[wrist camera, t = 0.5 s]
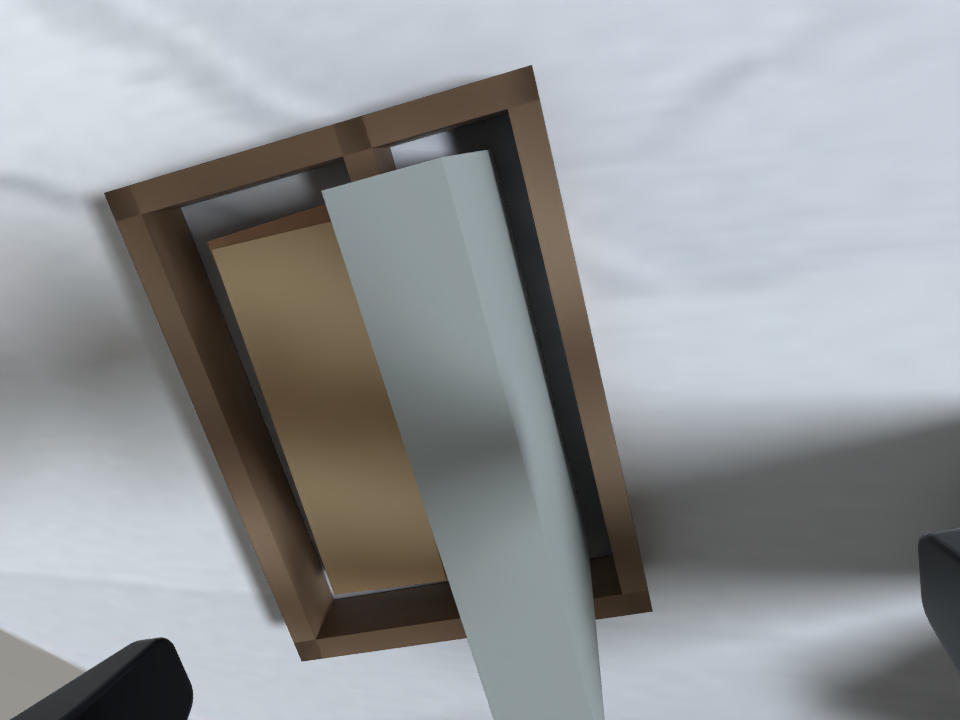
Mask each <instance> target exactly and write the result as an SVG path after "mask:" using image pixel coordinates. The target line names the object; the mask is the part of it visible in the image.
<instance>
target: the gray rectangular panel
mask: <svg viewBox="0 0 960 720" xmlns="http://www.w3.org/2000/svg"><path fill="white" fill-rule="evenodd" d="M322 195H323V198H324V201H325V204H326V207H327V210H328V213H329V216H330V219H331V222H332V225H333V228H334V231H335V234H336V237H337V241H338V244H339V247H340V250H341V253H342V256H343V259H344V262H345V265H346V268H347V271H348V274H349V277H350V280H351V283H352V287H353V290H354V293H355V296H356V299H357V302H358V305H359V308H360V311H361V314H362V317H363V320H364V323H365V326H366V329H367V333H368V336H369V339H370V342H371V345H372V348H373V351H374V354H375V357H376V360H377V363H378V366H379V369H380V372H381V375H382V378H383V382H384V385H385V388H386V391H387V394H388V397H389V400H390V403H391V406H392V409H393V412H394V415H395V418H396V421H397V424H398V428H399V431H400V434H401V437H402V440H403V443H404V446H405V449H406V452H407V455H408V458H409V461H410V464H411V467H412V470H413V474H414V477H415V480H416V483H417V486H418V489H419V492H420V495H421V498H422V501H423V504H424V507H425V510H426V513H427V516H428V520H429V523H430V526H431V529H432V532H433V535H434V538H435V541H436V544H437V547H438V550H439V553H440V556H441V559H442V562H443V565H444V569H445V572H446V575H447V578H448V581H449V584H450V587H451V590H452V593H453V596H454V599H455V602H456V605H457V608H458V611H459V615H460V618H461V621H462V624H463V627H464V630H465V633H466V636H467V639H468V642H469V645H470V648H471V651H472V654H473V657H474V661H475V664H476V667H477V670H478V673H479V676H480V679H481V682H482V685H483V688H484V691H485V694H486V697H487V700H488V703H489V707H490V710H491V713H492V716H493V719H494V720H605V719H604V708H603V697H602V686H601V676H600V665H599V654H598V643H597V633H596V622H595V611H594V600H593V590H592V579H591V568H590V558H589V547H588V538H587V534H586V530H585V525H584V521H583V517H582V513H581V509H580V505H579V501H578V497H577V493H576V489H575V485H574V481H573V477H572V473H571V469H570V465H569V461H568V457H567V453H566V448H565V444H564V440H563V436H562V432H561V428H560V424H559V420H558V416H557V412H556V408H555V404H554V400H553V396H552V392H551V388H550V384H549V380H548V376H547V371H546V367H545V363H544V359H543V355H542V351H541V347H540V343H539V339H538V335H537V331H536V327H535V323H534V319H533V315H532V311H531V307H530V303H529V299H528V295H527V290H526V286H525V282H524V278H523V274H522V270H521V266H520V262H519V258H518V254H517V250H516V246H515V242H514V238H513V234H512V230H511V226H510V222H509V218H508V213H507V209H506V205H505V201H504V197H503V193H502V189H501V185H500V181H499V177H498V173H497V169H496V165H495V161H494V157H493V153H492V149H490V150H483V151H477V152H471V153H464V154H458V155H452V156H446V157H440V158H437V159H433V160H430V161H426V162H423V163H419V164H415V165H412V166H408V167H405V168H401V169H398V170H394V171H390V172H387V173H383V174H380V175H376V176H373V177H369V178H366V179H362V180H358V181H355V182H351V183H348V184H344V185H341V186H337V187H333V188H330V189H326V190H323V191H322Z"/></svg>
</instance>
